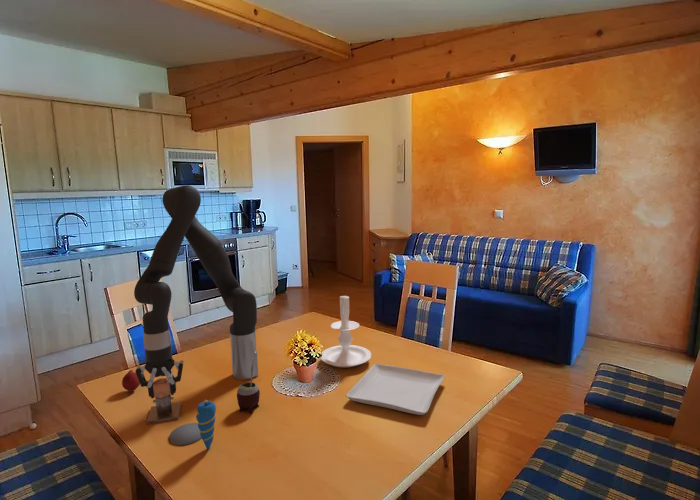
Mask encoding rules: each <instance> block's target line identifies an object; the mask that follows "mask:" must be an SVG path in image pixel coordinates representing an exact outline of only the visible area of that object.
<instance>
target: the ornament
mask: <svg viewBox="0 0 700 500" xmlns="http://www.w3.org/2000/svg"><path fill="white" fill-rule="evenodd" d="M196 412H197V413H196V416H195V418H196V419H195V420H196V421H197V423H198V428H199V430H200V435H201V440H202V441H203V443H204V445H205V448H206V449H207V450H210V448H211V446H212V444H213V440H214V436H215V435H214V432H215V422H216V412H217V407H216V404H215V403H214V402H213V401H210V400H208V399H207V398H204V401H202V402H200V403H199V404H198V405H197V407H196Z"/></svg>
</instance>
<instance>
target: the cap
mask: <svg viewBox="0 0 700 500" xmlns="http://www.w3.org/2000/svg"><path fill="white" fill-rule="evenodd" d="M170 384H171V383H170V381H169V380H168V379H167V377H161V378H157V379H156V380H153V393H154V398H163V397H166V396H169V395H170V394H171V388H170Z"/></svg>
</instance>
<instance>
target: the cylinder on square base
mask: <svg viewBox="0 0 700 500" xmlns="http://www.w3.org/2000/svg"><path fill="white" fill-rule="evenodd" d="M154 398H155V397H154ZM174 398H175V397H174V396H172V395H171V394H170V395H169V396H166V397H163V398H155V399H152V403H153V404H154V403H155V405H154V406H153V405H152V406H151V407H150V409H149V413H148V416H147V419H146V425H153V424H158V423H164V422H169V421H177V420H179V419H180V414H181V408H182V401H178V402H172V400H174Z"/></svg>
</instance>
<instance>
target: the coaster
mask: <svg viewBox="0 0 700 500" xmlns="http://www.w3.org/2000/svg"><path fill="white" fill-rule="evenodd" d="M200 440H202V438H201V435H200V430H199V428H198V422H189V423H185V424H182V425H180V426H178V427H176V428H175V429H173V430H172V431H171V432H170V434H169V442H170V443H172V444H173V445H176V446H186V445H190V444H194V443H196V442H199V441H200Z"/></svg>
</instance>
